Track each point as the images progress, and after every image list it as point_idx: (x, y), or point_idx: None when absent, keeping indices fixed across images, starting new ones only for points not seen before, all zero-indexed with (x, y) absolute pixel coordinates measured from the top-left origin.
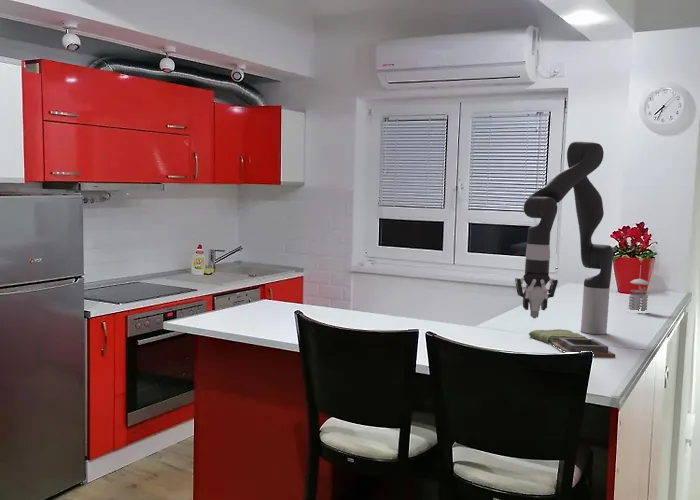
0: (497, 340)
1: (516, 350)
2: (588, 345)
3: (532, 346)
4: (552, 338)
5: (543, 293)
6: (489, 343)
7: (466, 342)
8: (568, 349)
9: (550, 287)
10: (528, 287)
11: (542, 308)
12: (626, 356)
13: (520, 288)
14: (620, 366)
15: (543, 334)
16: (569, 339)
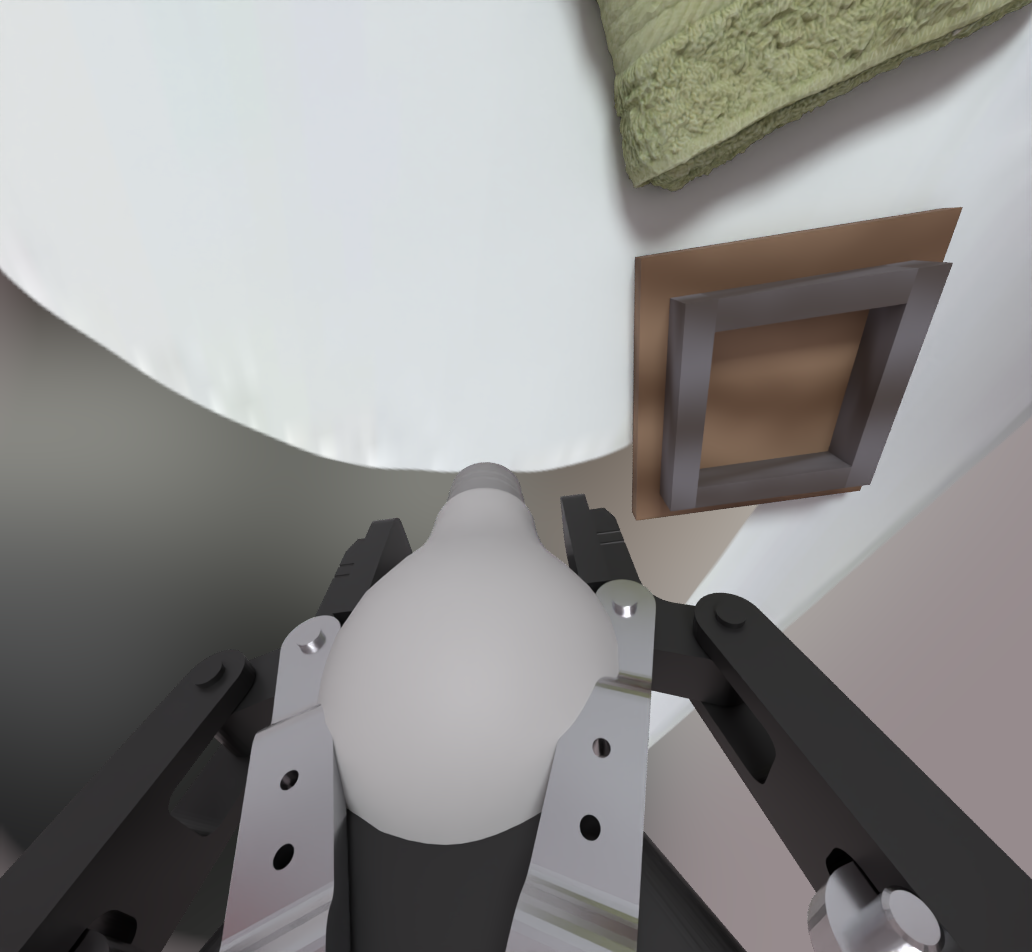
0: (259, 175)
1: (401, 462)
2: (769, 486)
3: (500, 332)
4: (680, 177)
5: None
6: (229, 316)
7: (82, 328)
8: (662, 463)
9: (798, 785)
10: (315, 789)
11: (565, 537)
12: (930, 444)
13: (191, 856)
14: (764, 604)
15: (646, 40)
16: (750, 326)
